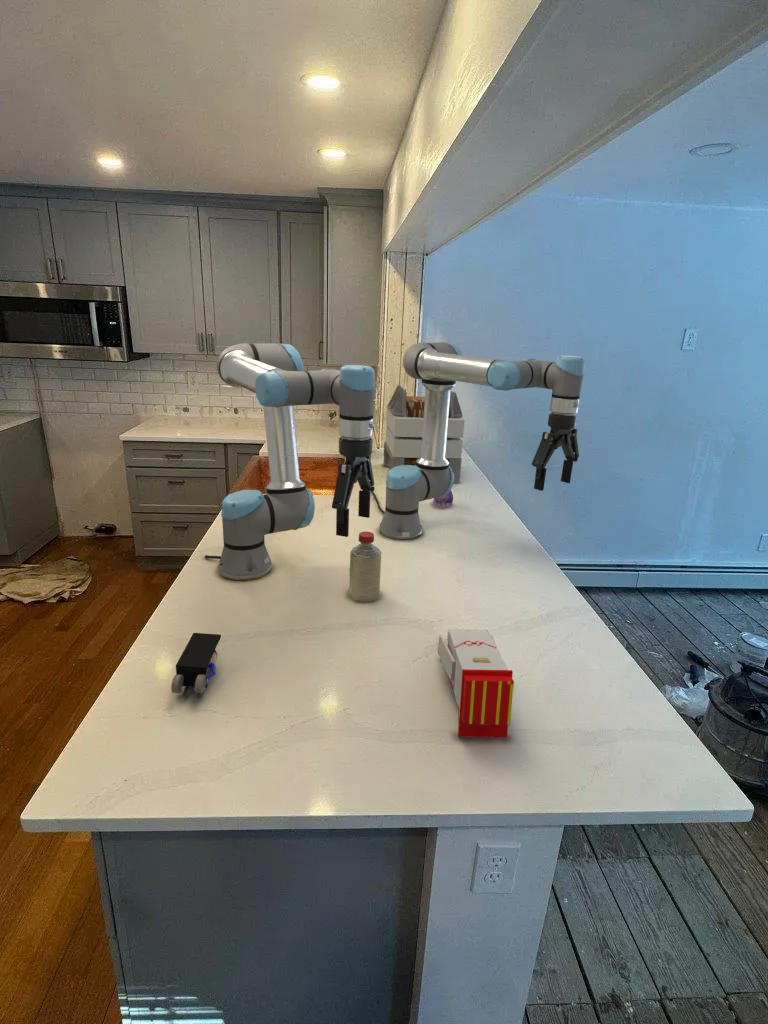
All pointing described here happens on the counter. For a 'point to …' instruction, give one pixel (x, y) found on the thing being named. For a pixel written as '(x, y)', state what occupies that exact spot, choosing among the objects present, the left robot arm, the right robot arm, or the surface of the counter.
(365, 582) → the bottle
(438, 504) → the figurine
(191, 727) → the counter surface
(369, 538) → the cap
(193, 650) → the black toy vehicle
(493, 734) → the toy
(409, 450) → the white slatted box
